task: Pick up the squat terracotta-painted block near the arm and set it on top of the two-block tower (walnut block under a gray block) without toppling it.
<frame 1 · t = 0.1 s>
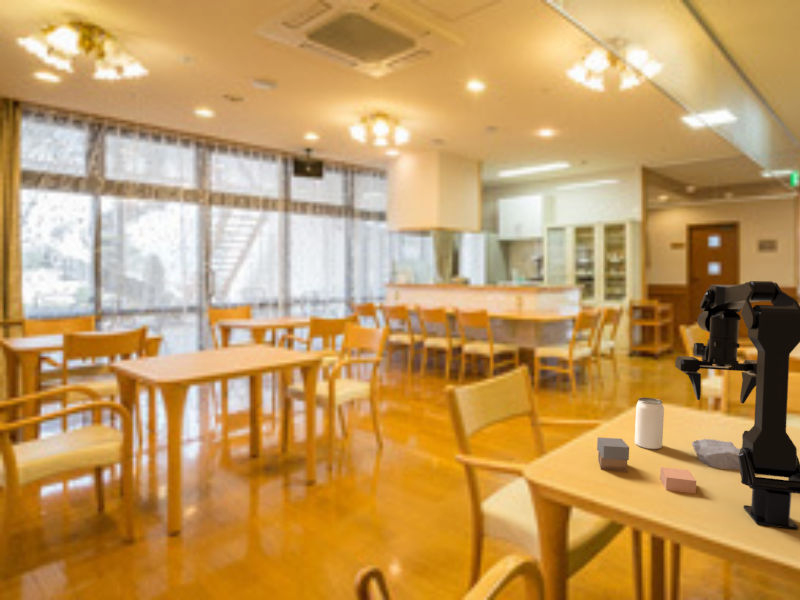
hand: (719, 401, 116), 15 cm above the table, tool pointing down, fingers open, 9 cm apart
walnut block: (612, 467, 113), on the table
gray block: (612, 454, 113), point 3 cm above the table
stone block: (716, 461, 117), on the table
can: (648, 446, 126), on the table
terracotta block: (677, 487, 103), on the table
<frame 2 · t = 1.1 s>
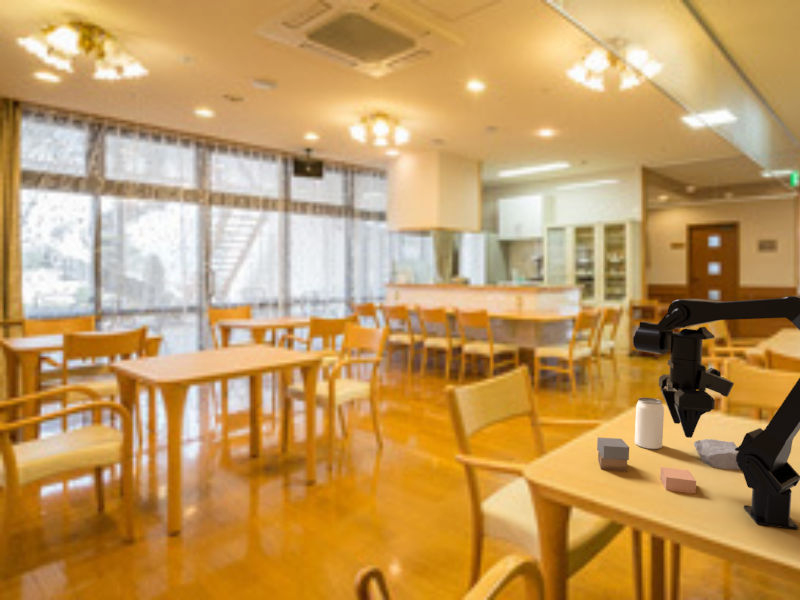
hand: (682, 430, 103), 12 cm above the table, tool pointing down, fingers open, 9 cm apart
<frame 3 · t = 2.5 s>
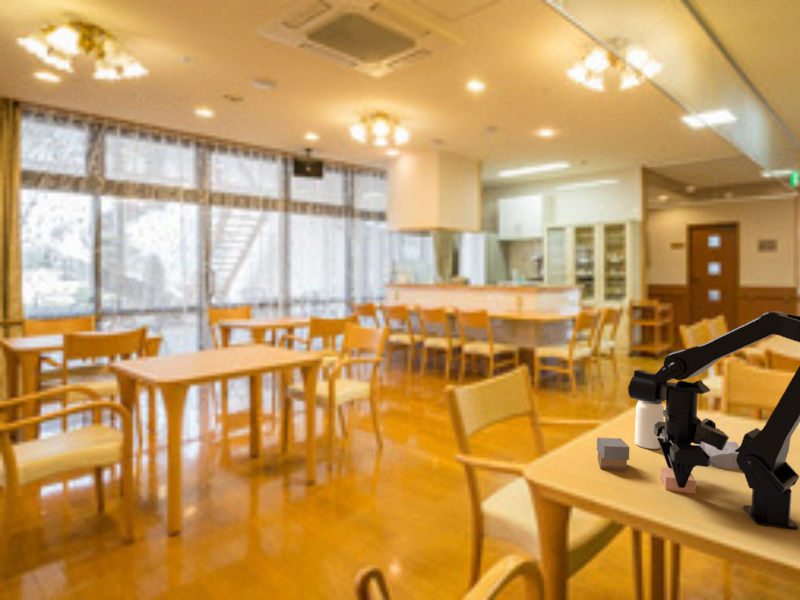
hand: (677, 481, 103), 1 cm above the table, tool pointing down, fingers closed on terracotta block, 6 cm apart
walnut block: (611, 466, 113), on the table, touching gray block
gray block: (612, 454, 113), point 3 cm above the table, touching walnut block
terracotta block: (677, 487, 103), on the table, touching gripper
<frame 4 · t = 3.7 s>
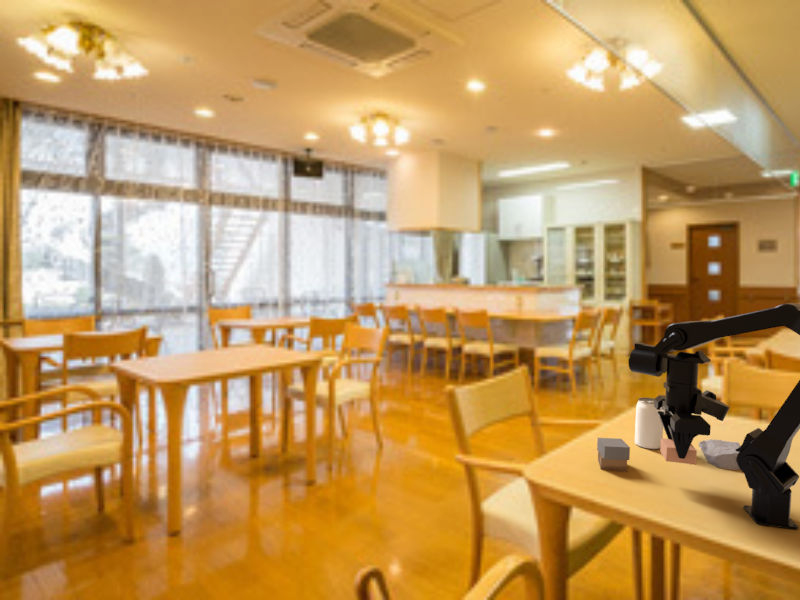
hand: (677, 452, 102), 7 cm above the table, tool pointing down, fingers closed on terracotta block, 5 cm apart
terracotta block: (677, 457, 103), point 6 cm above the table, touching gripper
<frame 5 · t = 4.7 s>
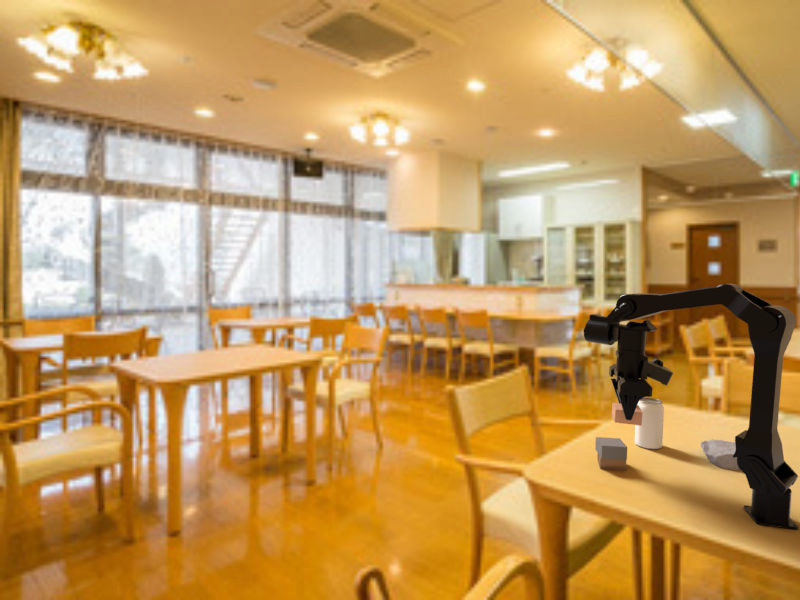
hand: (626, 415, 110), 13 cm above the table, tool pointing down, fingers closed on terracotta block, 5 cm apart
terracotta block: (626, 420, 110), point 12 cm above the table, touching gripper
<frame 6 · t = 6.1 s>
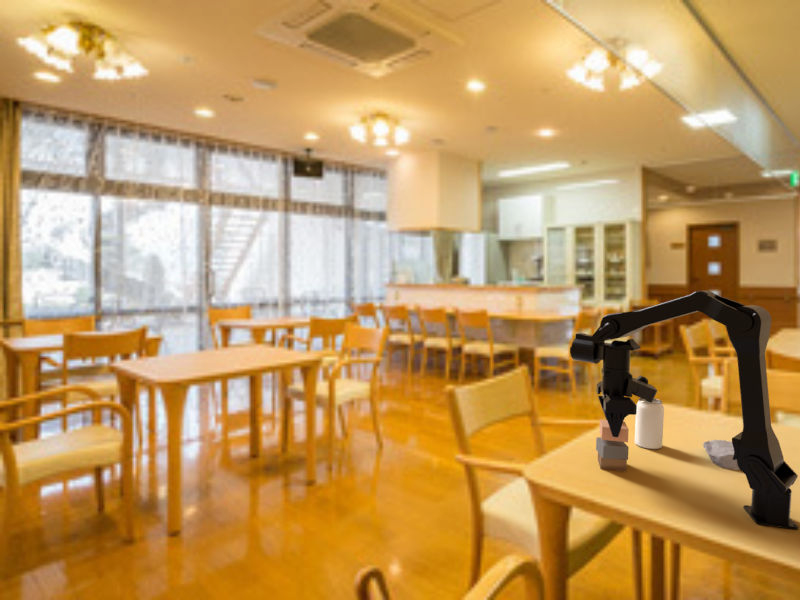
hand: (613, 432, 112), 8 cm above the table, tool pointing down, fingers closed on terracotta block, 5 cm apart
terracotta block: (613, 436, 112), point 7 cm above the table, touching gripper
when the fingers open (8 cm above the table, at t = 6.3 s): terracotta block drops 1 cm, resting on gray block.
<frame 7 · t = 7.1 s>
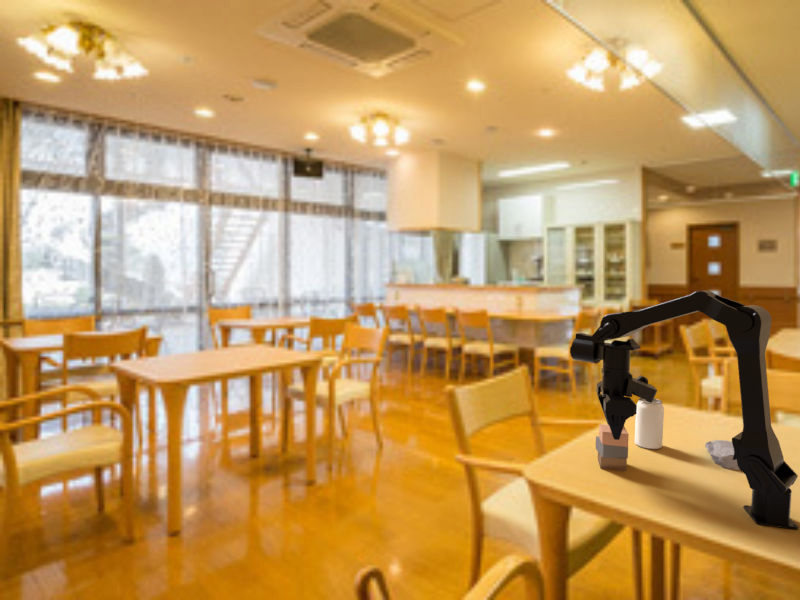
hand: (613, 432, 112), 8 cm above the table, tool pointing down, fingers open, 9 cm apart
gray block: (611, 453, 113), point 3 cm above the table, touching terracotta block, walnut block
terracotta block: (613, 441, 113), point 6 cm above the table, touching gray block
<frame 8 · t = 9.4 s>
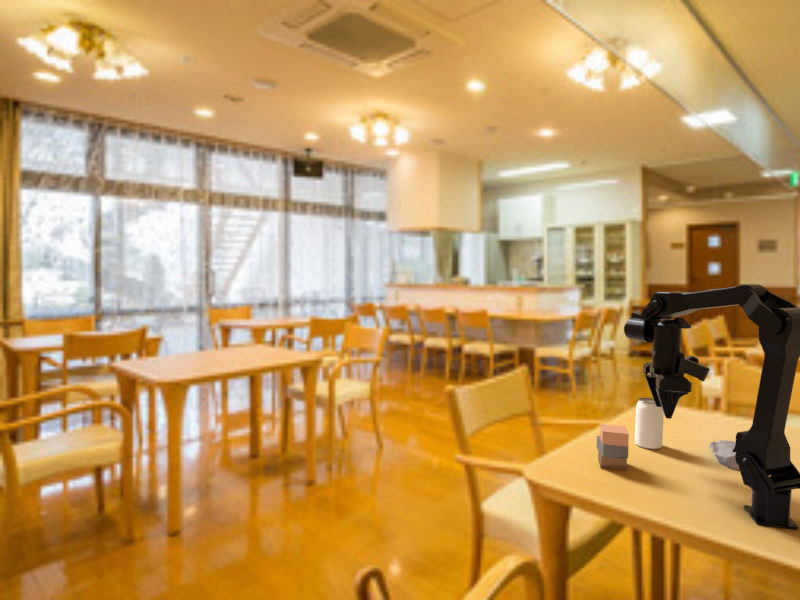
hand: (663, 412, 112), 13 cm above the table, tool pointing down, fingers open, 9 cm apart
at the end: terracotta block 0.2 cm off-centre on the walnut block, point 6.0 cm above the walnut block's base; terracotta block tilted 0°; gray block moved 0.8 cm from its start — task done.
